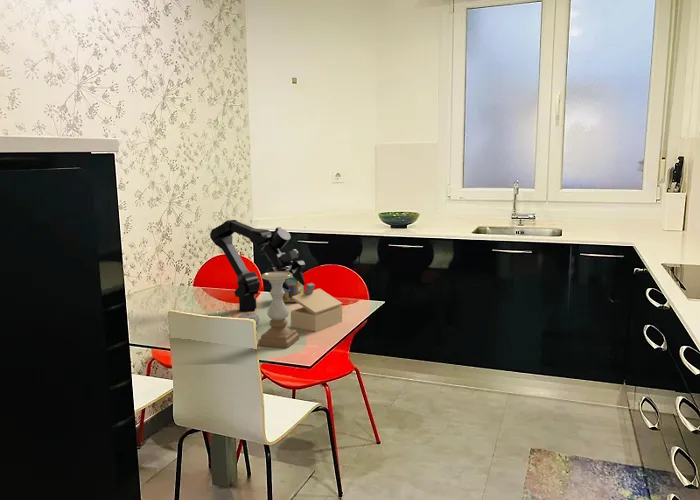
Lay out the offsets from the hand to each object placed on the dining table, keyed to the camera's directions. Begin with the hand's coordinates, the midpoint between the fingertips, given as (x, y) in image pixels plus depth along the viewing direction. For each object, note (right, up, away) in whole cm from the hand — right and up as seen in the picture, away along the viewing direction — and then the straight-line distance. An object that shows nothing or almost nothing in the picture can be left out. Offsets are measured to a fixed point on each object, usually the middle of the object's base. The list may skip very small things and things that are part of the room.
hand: (296, 287), depth 221 cm
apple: (-17, -16, -11) cm, 25 cm away
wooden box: (+8, -14, -4) cm, 16 cm away
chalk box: (-5, -8, +34) cm, 35 cm away
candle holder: (-4, -18, -25) cm, 31 cm away
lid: (+8, -5, -5) cm, 11 cm away
